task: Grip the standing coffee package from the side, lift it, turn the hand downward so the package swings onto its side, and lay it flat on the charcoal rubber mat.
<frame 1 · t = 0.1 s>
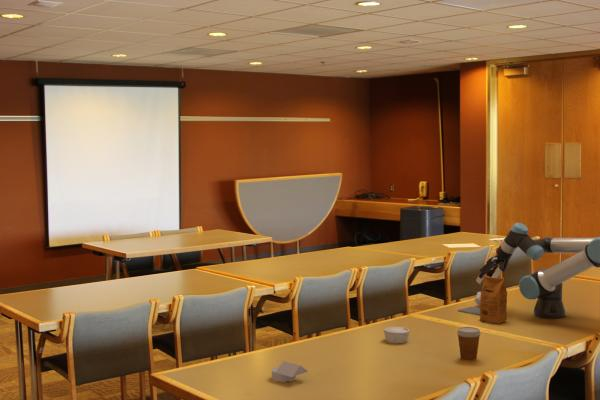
hand: (485, 280, 399), 15 cm above the table, tool tilted 35°, fingers open, 13 cm apart
ramekin: (396, 341, 342), on the table
grey angular block: (287, 380, 290), on the table
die: (483, 307, 408), on the table
coffee package: (492, 321, 376), on the table
mat: (479, 312, 395), on the table
disposable coffee cup: (468, 359, 314), on the table
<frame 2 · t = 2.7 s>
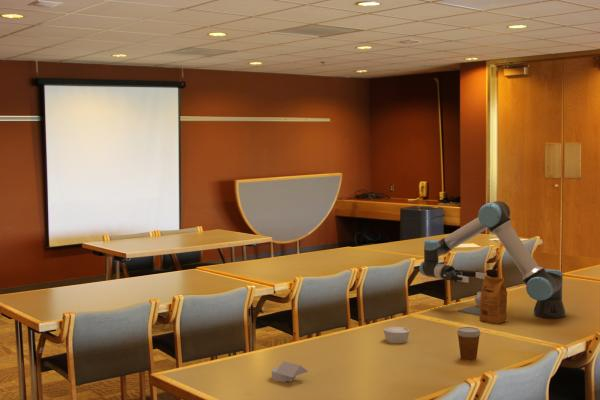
hand: (477, 278, 382), 20 cm above the table, tool horizontal, fingers open, 13 cm apart
nothing on the table moved.
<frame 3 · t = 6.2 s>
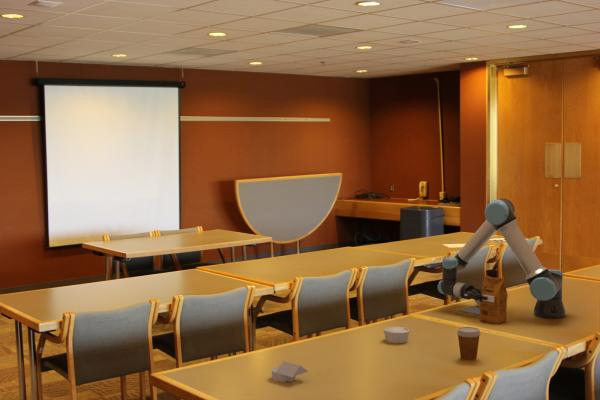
hand: (500, 298, 372), 12 cm above the table, tool horizontal, fingers closed on coffee package, 9 cm apart
coffee package: (492, 321, 376), on the table, touching gripper
everything else where it was.
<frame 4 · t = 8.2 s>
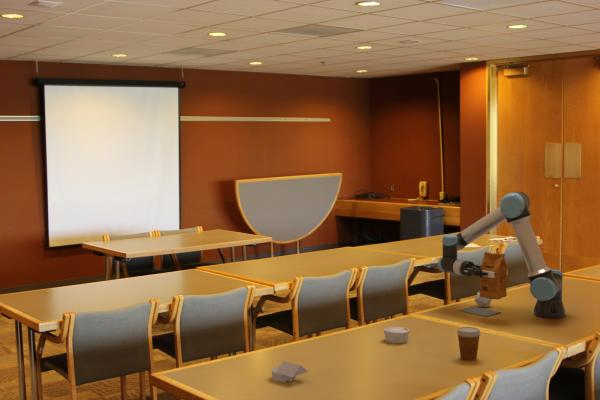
hand: (500, 273, 371), 24 cm above the table, tool horizontal, fingers closed on coffee package, 9 cm apart
coffee package: (492, 297, 375), point 12 cm above the table, touching gripper
everything else where it was.
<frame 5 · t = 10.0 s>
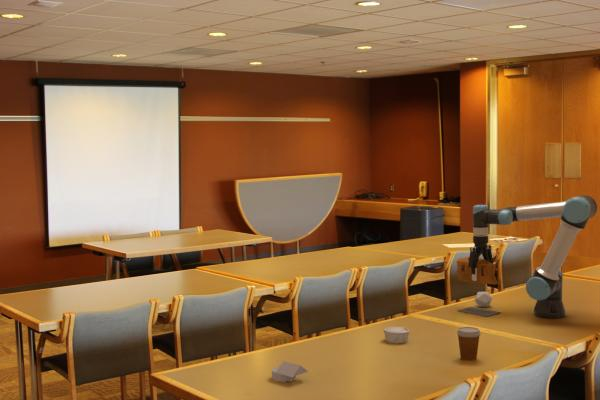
hand: (481, 279, 393), 17 cm above the table, tool pointing down, fingers closed on coffee package, 9 cm apart
coffee package: (461, 268, 402), point 21 cm above the table, touching gripper
everything else where it was.
when the fingers open (4 cm above the table, at t = 13.3 s): coffee package drops 1 cm, resting on mat.
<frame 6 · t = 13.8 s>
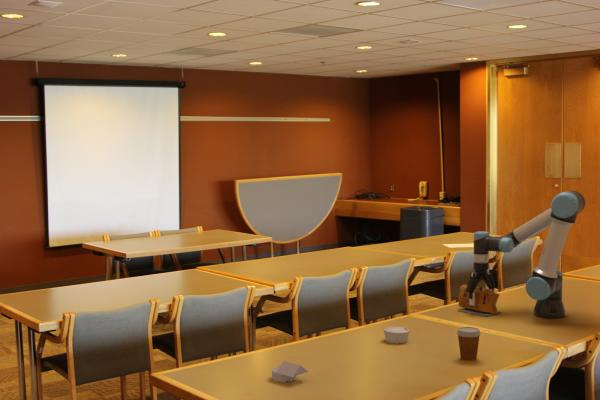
hand: (480, 303, 394), 5 cm above the table, tool pointing down, fingers open, 13 cm apart
coffee package: (463, 295, 404), point 7 cm above the table, touching mat
everything else where it was.
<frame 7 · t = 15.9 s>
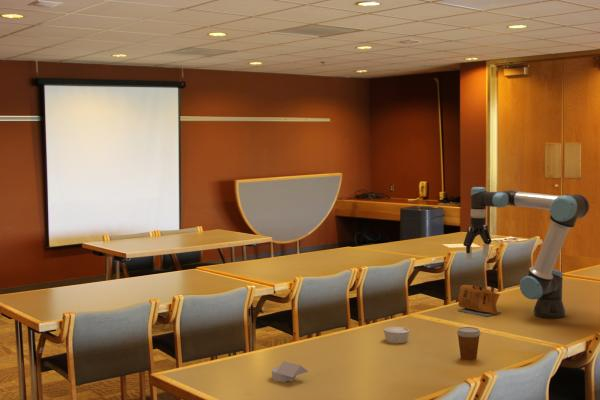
hand: (477, 257, 400), 27 cm above the table, tool pointing down, fingers open, 13 cm apart
nothing on the table moved.
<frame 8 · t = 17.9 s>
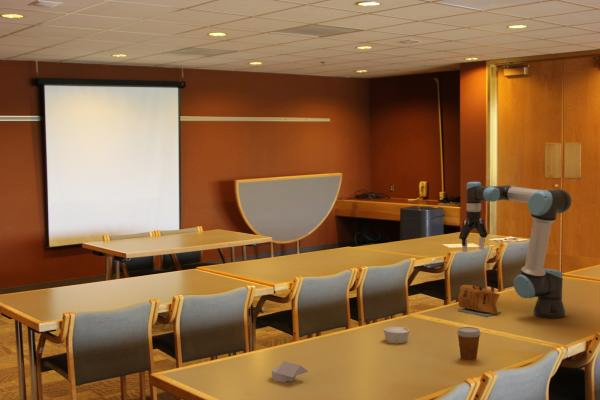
hand: (473, 250, 413), 29 cm above the table, tool pointing down, fingers open, 13 cm apart
nothing on the table moved.
at the end: coffee package tilted 91°; coffee package inside the target area (5.7 cm from its centre), point 6.6 cm above the table; the gripper is holding nothing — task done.
